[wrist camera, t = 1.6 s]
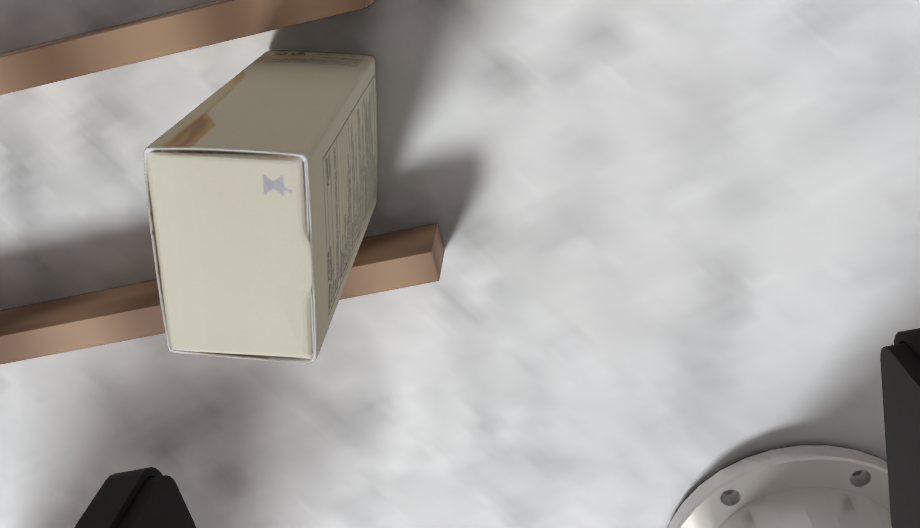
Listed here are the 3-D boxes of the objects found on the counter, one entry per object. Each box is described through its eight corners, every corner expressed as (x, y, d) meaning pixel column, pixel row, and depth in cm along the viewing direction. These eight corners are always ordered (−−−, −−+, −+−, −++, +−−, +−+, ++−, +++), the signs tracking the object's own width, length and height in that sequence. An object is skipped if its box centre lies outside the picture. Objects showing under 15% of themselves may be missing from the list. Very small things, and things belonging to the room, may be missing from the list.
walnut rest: (370, -37, 31) (356, -30, 29) (444, 250, 36) (438, 280, 33) (-165, 94, 34) (-223, 112, 32) (-37, 344, 39) (-79, 379, 36)
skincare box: (263, 48, 33) (134, 132, 22) (378, 53, 33) (309, 141, 21) (272, 209, 35) (160, 359, 24) (378, 214, 35) (316, 368, 24)
